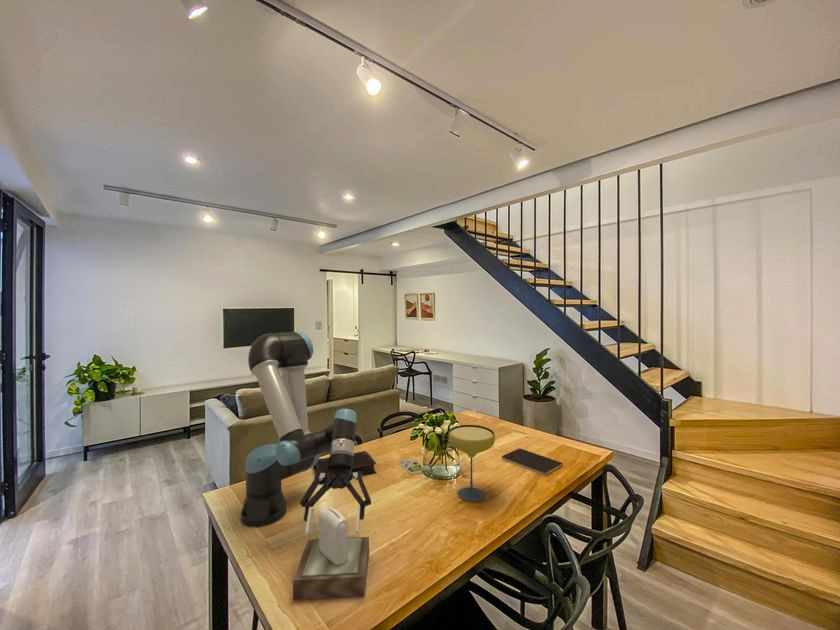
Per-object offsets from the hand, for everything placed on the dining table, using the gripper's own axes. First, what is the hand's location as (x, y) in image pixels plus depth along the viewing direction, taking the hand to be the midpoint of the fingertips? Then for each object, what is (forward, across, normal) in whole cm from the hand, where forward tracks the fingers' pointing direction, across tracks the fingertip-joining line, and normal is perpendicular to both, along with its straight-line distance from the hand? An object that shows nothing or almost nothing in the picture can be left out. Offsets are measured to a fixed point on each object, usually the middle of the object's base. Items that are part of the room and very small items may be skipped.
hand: (332, 533), depth 98 cm
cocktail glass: (-20, +47, +37) cm, 63 cm away
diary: (-36, -7, +54) cm, 66 cm away
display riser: (+8, 0, +9) cm, 12 cm away
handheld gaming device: (-38, +24, +56) cm, 72 cm away
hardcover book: (-39, +81, +57) cm, 106 cm away
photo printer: (+4, 0, +5) cm, 7 cm away
